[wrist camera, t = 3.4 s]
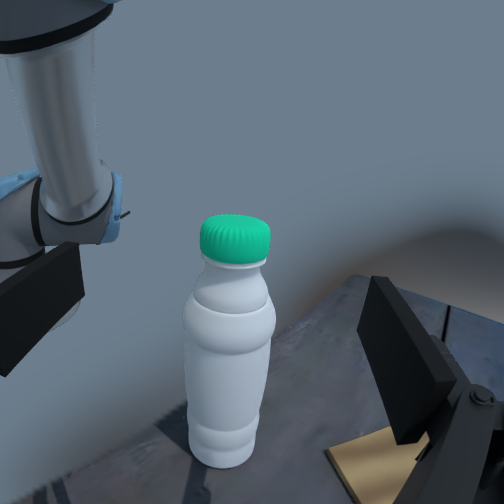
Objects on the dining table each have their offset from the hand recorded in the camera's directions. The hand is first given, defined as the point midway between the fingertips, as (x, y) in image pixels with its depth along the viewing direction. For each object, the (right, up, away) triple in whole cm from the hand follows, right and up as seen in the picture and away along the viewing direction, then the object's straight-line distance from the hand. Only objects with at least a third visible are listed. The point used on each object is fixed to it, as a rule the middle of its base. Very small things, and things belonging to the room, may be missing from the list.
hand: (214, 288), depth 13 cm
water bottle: (-2, -20, +17) cm, 26 cm away
